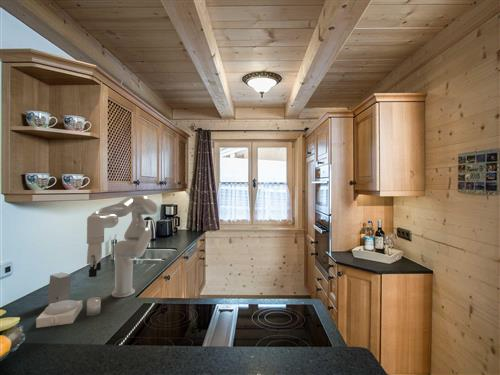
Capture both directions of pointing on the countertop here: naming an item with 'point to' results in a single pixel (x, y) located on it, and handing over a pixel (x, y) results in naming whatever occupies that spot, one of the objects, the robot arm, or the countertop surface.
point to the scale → (59, 313)
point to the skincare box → (59, 287)
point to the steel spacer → (93, 306)
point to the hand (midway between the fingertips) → (95, 273)
